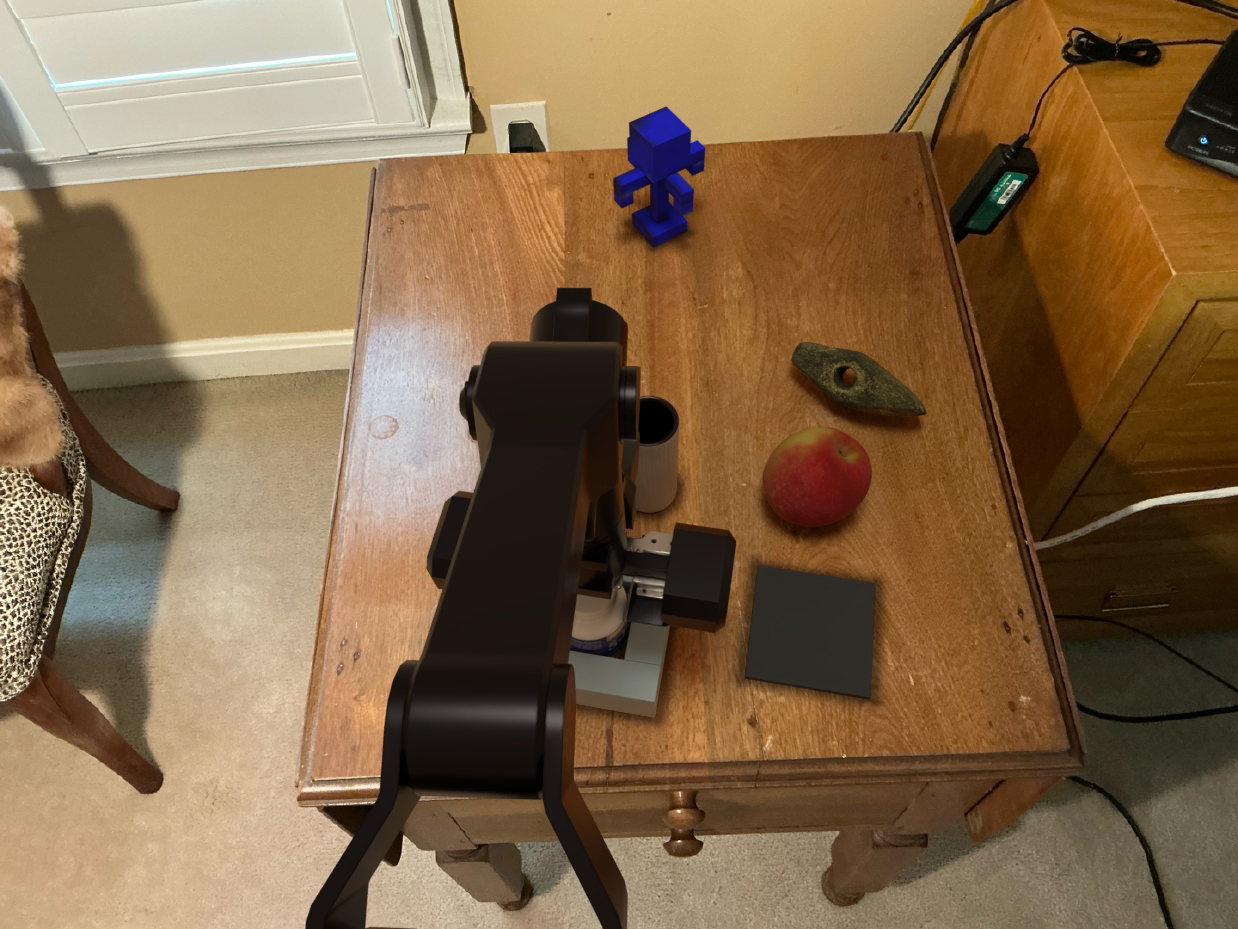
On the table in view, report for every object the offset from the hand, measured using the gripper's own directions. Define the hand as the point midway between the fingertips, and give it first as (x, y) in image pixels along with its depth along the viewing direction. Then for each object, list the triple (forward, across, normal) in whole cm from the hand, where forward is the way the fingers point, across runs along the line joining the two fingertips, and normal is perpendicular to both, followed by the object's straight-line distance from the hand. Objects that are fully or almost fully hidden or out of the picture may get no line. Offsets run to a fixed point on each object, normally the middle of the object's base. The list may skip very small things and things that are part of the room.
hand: (591, 609), depth 62 cm
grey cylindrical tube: (+5, -2, -13) cm, 14 cm away
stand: (+5, 0, 0) cm, 5 cm away
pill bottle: (+5, 0, 0) cm, 5 cm away
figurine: (+5, +2, -43) cm, 43 cm away
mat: (+5, -16, -3) cm, 17 cm away
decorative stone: (+5, -18, -25) cm, 31 cm away
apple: (+5, -15, -14) cm, 21 cm away
